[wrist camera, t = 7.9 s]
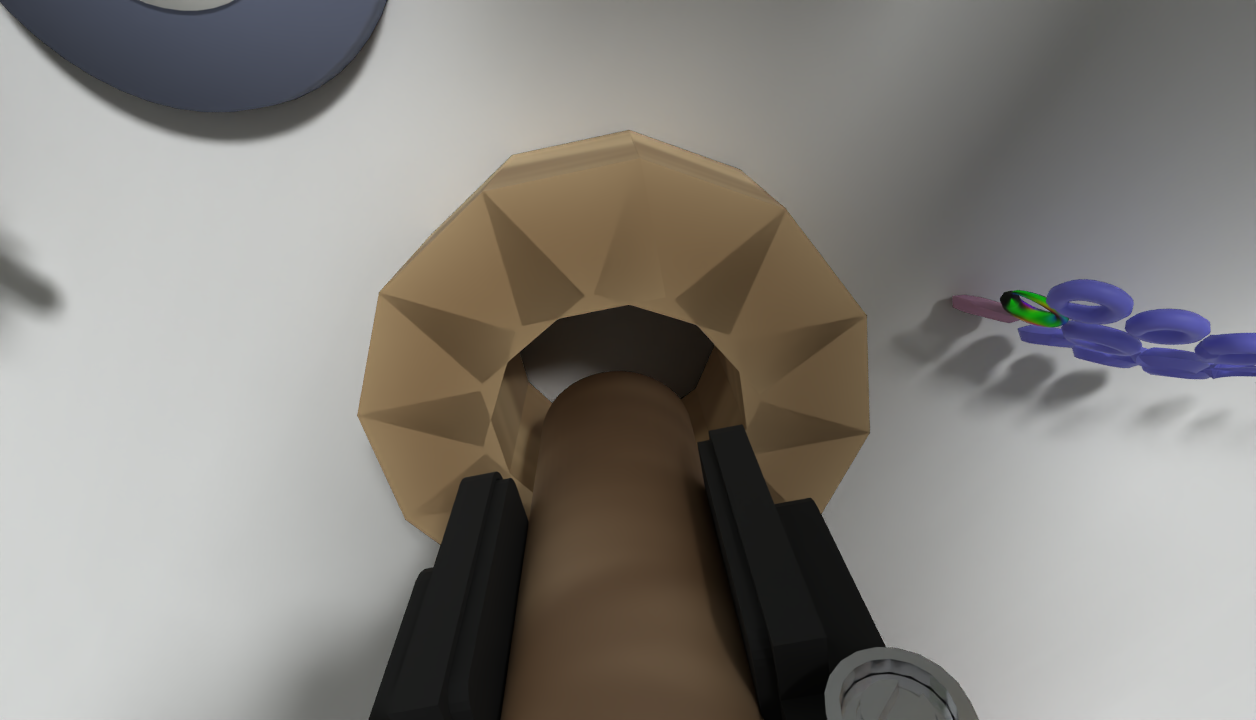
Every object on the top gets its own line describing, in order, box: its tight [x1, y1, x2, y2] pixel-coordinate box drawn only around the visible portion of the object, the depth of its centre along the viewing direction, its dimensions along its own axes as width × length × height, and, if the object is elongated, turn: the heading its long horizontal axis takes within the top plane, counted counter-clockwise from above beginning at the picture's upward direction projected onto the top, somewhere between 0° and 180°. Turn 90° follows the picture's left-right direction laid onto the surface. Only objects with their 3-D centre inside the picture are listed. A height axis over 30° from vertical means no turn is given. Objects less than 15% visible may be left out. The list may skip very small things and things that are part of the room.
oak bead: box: [357, 130, 870, 545], centre depth 14 cm, size 10×10×4 cm
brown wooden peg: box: [500, 371, 764, 720], centre depth 8 cm, size 3×3×10 cm
